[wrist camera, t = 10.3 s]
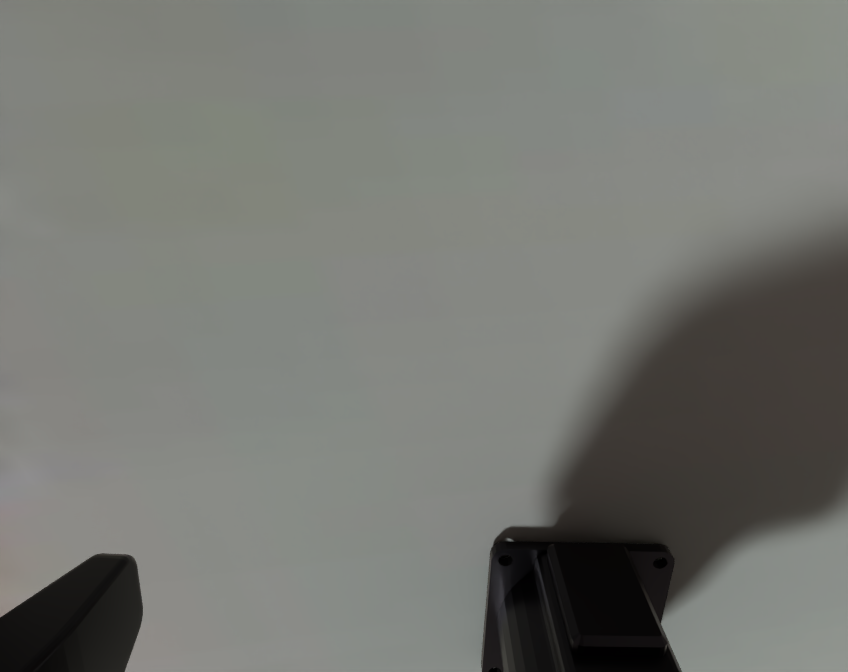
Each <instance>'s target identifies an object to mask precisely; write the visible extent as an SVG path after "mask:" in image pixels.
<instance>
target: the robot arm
mask: <svg viewBox="0 0 848 672" xmlns="http://www.w3.org/2000/svg"><path fill="white" fill-rule="evenodd" d="M502 555H509V557H507V558H500V557H501V556H502ZM661 557H662V558H661ZM657 558H661V559H660V560H656V559H657ZM654 560H656V561H654ZM673 567H674V558H673V556H672V554H671V552H670V550H669V549H668V547H666V546H665V545H661V544H627V543H567V542H507V541H505V542H499V543H497V544H495V545H494V546H493V547H492V548H491V551H490V561H489V573H488V585H487V597H486V610H485V622H484V634H483V646H482V658H481V667H482V672H682V671H681V668H680V666H679V664H678V662H677V659H676V657H675V655H674V653H673V650H672V648H671V646H670V644H669V641H668V639H667V637H666V635H665V632H664V630H663V628H662V626H661V620H662V615H663V611H664V607H665V602H666V598H667V594H668V589H669V585H670V580H671V576H672V572H673ZM142 616H143V604H142V597H141V590H140V583H139V576H138V569H137V564H136V561H135V559H134V558H133V557H132V556H130V555H126V554H105V553H102V554H97V555H94V556H92V557H91V558H89V559H87V560H86V561H84V562H83V563H81V564H80V565H78V566H77V567H75V568H74V569H72V570H71V571H69V572H68V573H66V574H65V575H63V576H62V577H60V578H59V579H57V580H56V581H54V582H53V583H51V584H50V585H48V586H47V587H45V588H44V589H42V590H41V591H39V592H38V593H36V594H35V595H33V596H32V597H30V598H29V599H27V600H26V601H24V602H23V603H21V604H20V605H18V606H17V607H15V608H14V609H12V610H11V611H9V612H8V613H6V614H5V615H3V616H2V617H0V672H125V669H126V666H127V663H128V661H129V658H130V655H131V652H132V649H133V647H134V644H135V641H136V638H137V635H138V632H139V629H140V626H141V622H142ZM495 667H496V668H495Z"/></svg>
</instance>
